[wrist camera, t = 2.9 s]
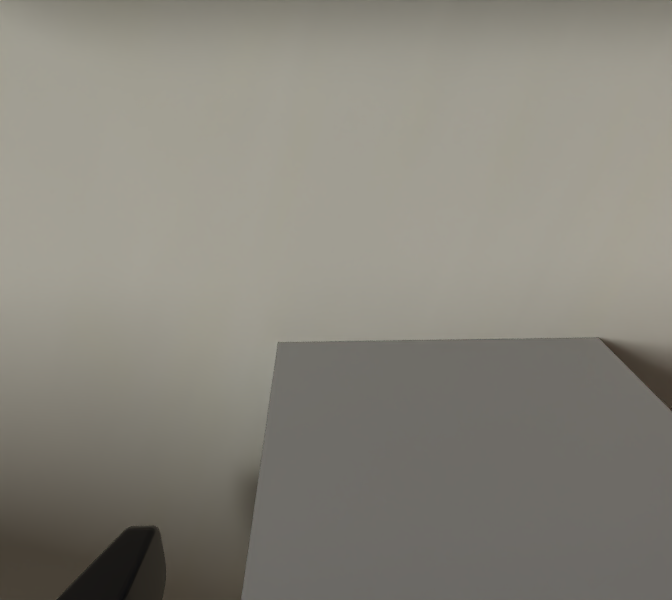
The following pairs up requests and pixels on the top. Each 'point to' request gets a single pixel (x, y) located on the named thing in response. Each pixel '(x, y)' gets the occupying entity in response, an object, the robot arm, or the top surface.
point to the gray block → (461, 474)
